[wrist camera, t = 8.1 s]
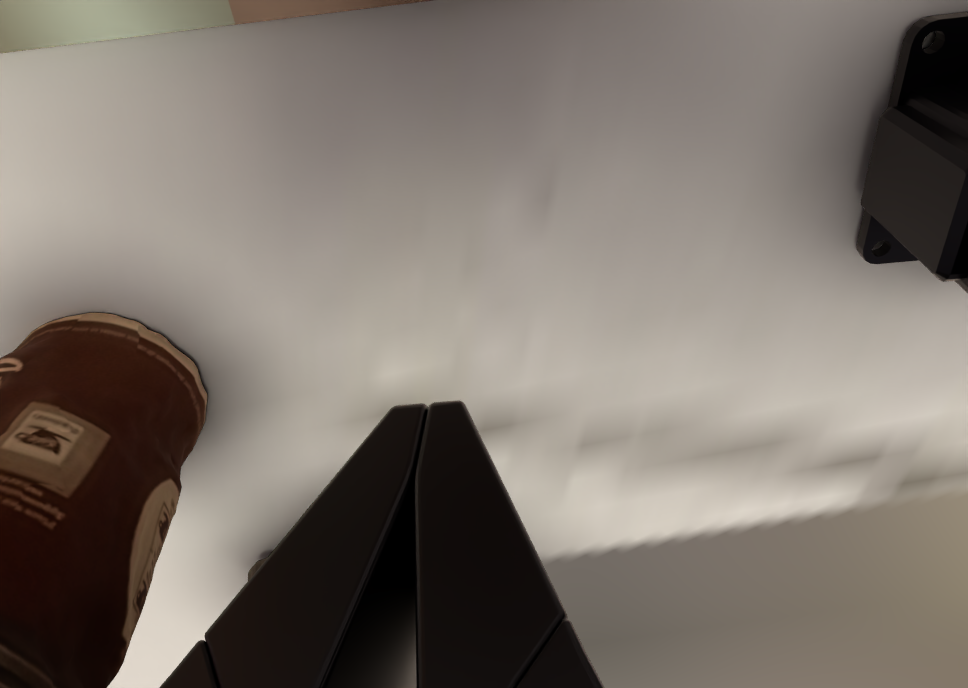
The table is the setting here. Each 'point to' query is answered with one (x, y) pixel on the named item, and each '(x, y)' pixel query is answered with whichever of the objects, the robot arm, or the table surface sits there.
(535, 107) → the table surface
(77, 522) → the coffee cup
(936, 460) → the table surface
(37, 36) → the board
